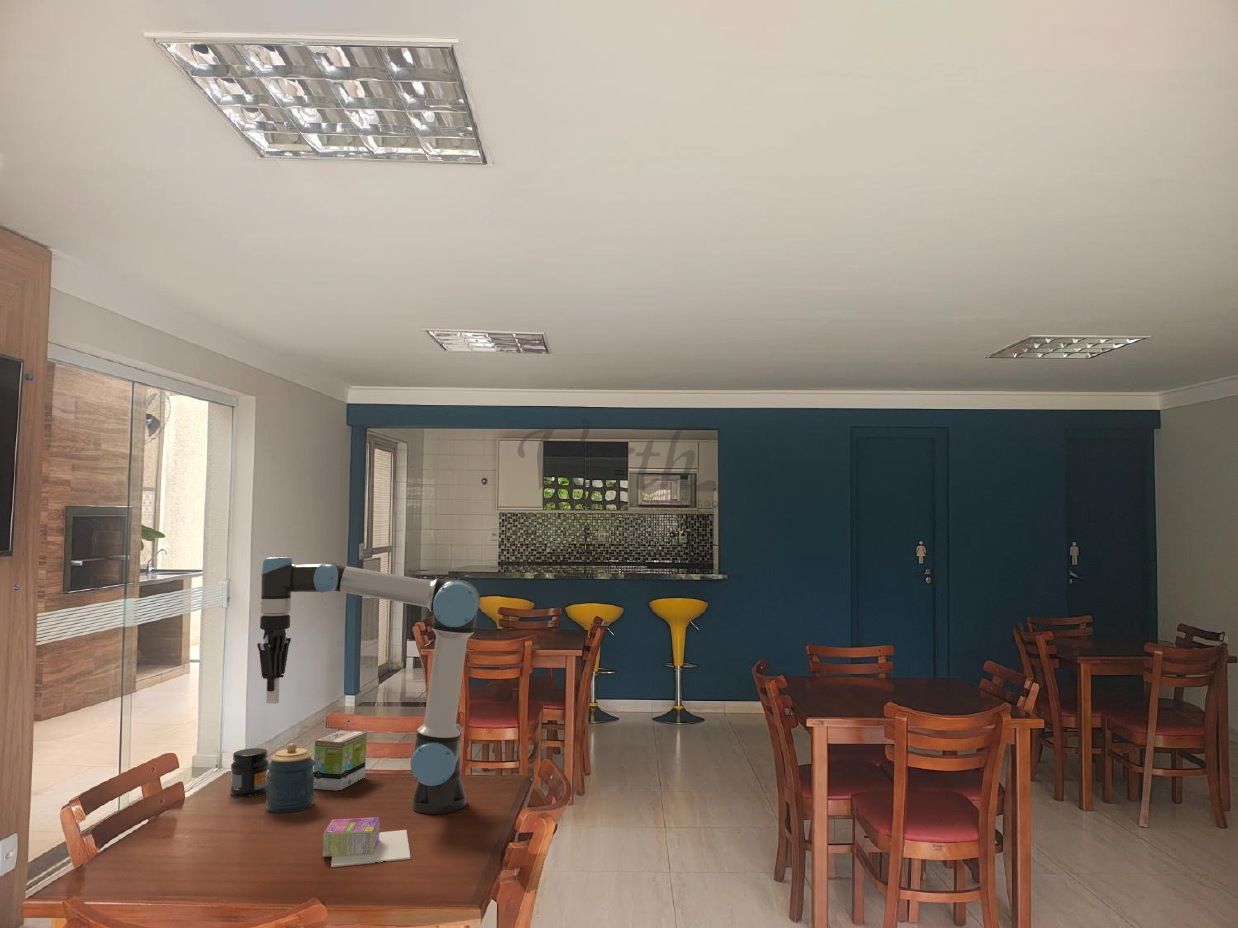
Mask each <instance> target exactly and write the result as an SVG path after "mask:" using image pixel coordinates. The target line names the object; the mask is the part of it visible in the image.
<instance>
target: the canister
mask: <svg viewBox="0 0 1238 928" xmlns="http://www.w3.org/2000/svg"><path fill="white" fill-rule="evenodd" d="M312 756H313V752H311V751H309V750H308V749H306V748H299V747H297V745H296V743H294V742H293V743H292V742H291V743H288V745H287V746H286V748H285V749H280V750H278V751H276V752H275V753H274V754H273V755H271V756H270V760H271V762H269V764H268V765H267V769H268V777H267V790H266V799H265V806H266V811H268V812H270V813H275V814H276V813H277V814H284V813H285V814H286V813H295V812H299V811H304V810H307V809H309V808H310V807H312V806H313V805H314V800H315V793H314V792H315V791H314V790H315V789H314V776H315V773H314V764H315V761H314V759H312Z"/></svg>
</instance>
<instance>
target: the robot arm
mask: <svg viewBox="0 0 1238 928" xmlns="http://www.w3.org/2000/svg"><path fill="white" fill-rule="evenodd" d="M297 592H298V593H304V592H305V593H322V594H323V593H329V592H330V593H331V592H337V593H338V592H340V593H344V594H351V595H356V596H363V597H368V598H374V599H380V600H385V601H390V602H396V603H397V602H398V603H402V604H408V605H414V606H418V607H425V608H427V609H428V610H429V611H430V612H433V617H432V625H431V630H432V631H433V633H434V634H435V642H434V649H433V657H432V664H431V671H430V676H429V677H430V678H429V683H428V693H427V699H426V706H425V707H426V708H425V713H424V719H423V720H424V721H423V723H422V725H420V726H419V727H418V728H417V730H416V735H415V741H414V742H415V743H414V750H413V753H412V756H411V757H410V771H411V773H412V775H413V777H414V779H416V781H417V784H416V788H415V790H414V794H413V797H412V803H411V804H412V805H411V807H412V808H411V809H412V810H413V811H415V812H417V813H421V814H425V815H426V814H427V815H428V814H430V815H434V814H435V815H440V814H446V813H447V814H448V813H453V812H456V811H460V810H462V809H463V808H464V807H466V805H467V795H466V792H465V788H464V784H463V781H462V778H461V750H462V749H461V748H462V747H461V746H462V745H461V743H462V728H461V725H460V724H458V723H457V717H458V711H459V710H458V709H459V703H460V696H461V691H462V690H461V688H462V683H463V682H462V681H463V675H464V667H465V659H466V654H467V645H468V640H469V638H470V637H471V636H472V635H474V633H475V628H476V621H477V613H478V611H479V608H480V603H481V598H480V593H479V591H478V589H477V588H476V586H475V585H473V583H471V582H469V581H466V580H462V579H461V580H459V579H458V580H457V579H455V580H454V579H451V580H449V579H443V578H442V579H441V578H436V579H434V580H428V579H422V578H415V577H412V576H405V575H398V574H395V573H387V572H382V571H381V572H380V571H376V570H371V569H364V568H358V567H355V566H354V567H353V566H346V565H341V564H336V563H334V562H330V561H329V562H328V561H325V562H322V563H313V564H312V563H311V564H310V563H309V564H308V563H307V564H305V563H304V564H299V563H298V564H295V563H293V559H292V557H289V556H287V557H286V556H282V557H281V556H280V557H278V556H275V557H274V556H271V557H266V558H264V559H263V562H262V571H261V593H260V594H261V598H260V599H261V602H260V614H262V615H260V622H259V629H260V630H262V631H264V633H263V640H262V641H261V642H258V643H257V649H258V651H259V653H258V654H259V661H260V671H261V678H262V679H264V680H266V701H265V702H266V704H271V705H272V704H273V705H274V704H279V702H280V678H284V677H285V675H284V674H285V672H286V668H287V661H288V654H289V646H290V643H291V642H292V639H291V637H287V632H286V630H287V629H289V628H290V627H291V616H290V613H291V601H292V600H291V599H292V598H291V597H292V594H291V593H297Z"/></svg>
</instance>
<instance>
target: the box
mask: <svg viewBox="0 0 1238 928" xmlns="http://www.w3.org/2000/svg"><path fill="white" fill-rule="evenodd" d="M380 828H381V827H380V817H378V816H375V817H357V818H356V817H355V818H353V817H352V818H338V819H337V818H333V819H332V820H331V821H330V822H329V824H328V825H327V827H326V828H325V830H324V831H323V833H322V857H325V858H326V857H332V856H351V855H372V853H373V851H374V849H375V847H376V844H377V842H378V840H379V832H380Z"/></svg>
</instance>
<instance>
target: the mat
mask: <svg viewBox="0 0 1238 928" xmlns="http://www.w3.org/2000/svg"><path fill="white" fill-rule="evenodd" d="M410 851H411V850H410V845H409V837H408V831H407V829H401V830H391V831H390V830H389V831H381V832H380V831H379V840H378V842H377V844H376V847H375V849H374V851H373V853H372V855H351V856H331V862H330V864H331V865H330V867H331V868H340V867H349V866H357V865H358V866H359V865H367V864H375V862H378V863H384V862H383V861H386V862H394V861H402V860H403V861H404V860H405V861H406V860H411V852H410ZM386 862H385V863H386Z"/></svg>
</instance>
